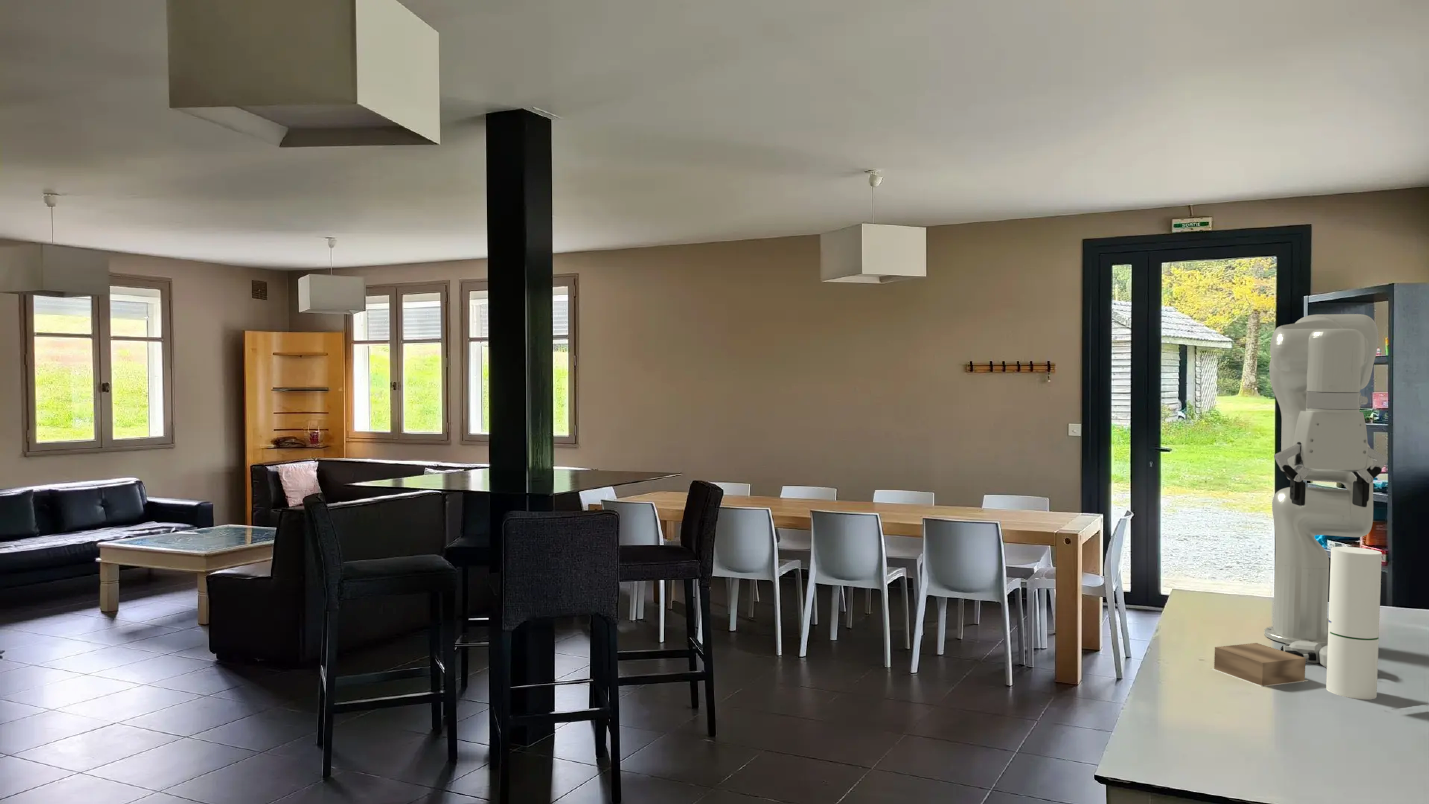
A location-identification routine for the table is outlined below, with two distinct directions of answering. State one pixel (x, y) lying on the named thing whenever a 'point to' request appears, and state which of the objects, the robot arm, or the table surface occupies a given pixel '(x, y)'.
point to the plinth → (1259, 664)
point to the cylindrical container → (1353, 622)
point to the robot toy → (1308, 651)
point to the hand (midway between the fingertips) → (1328, 505)
